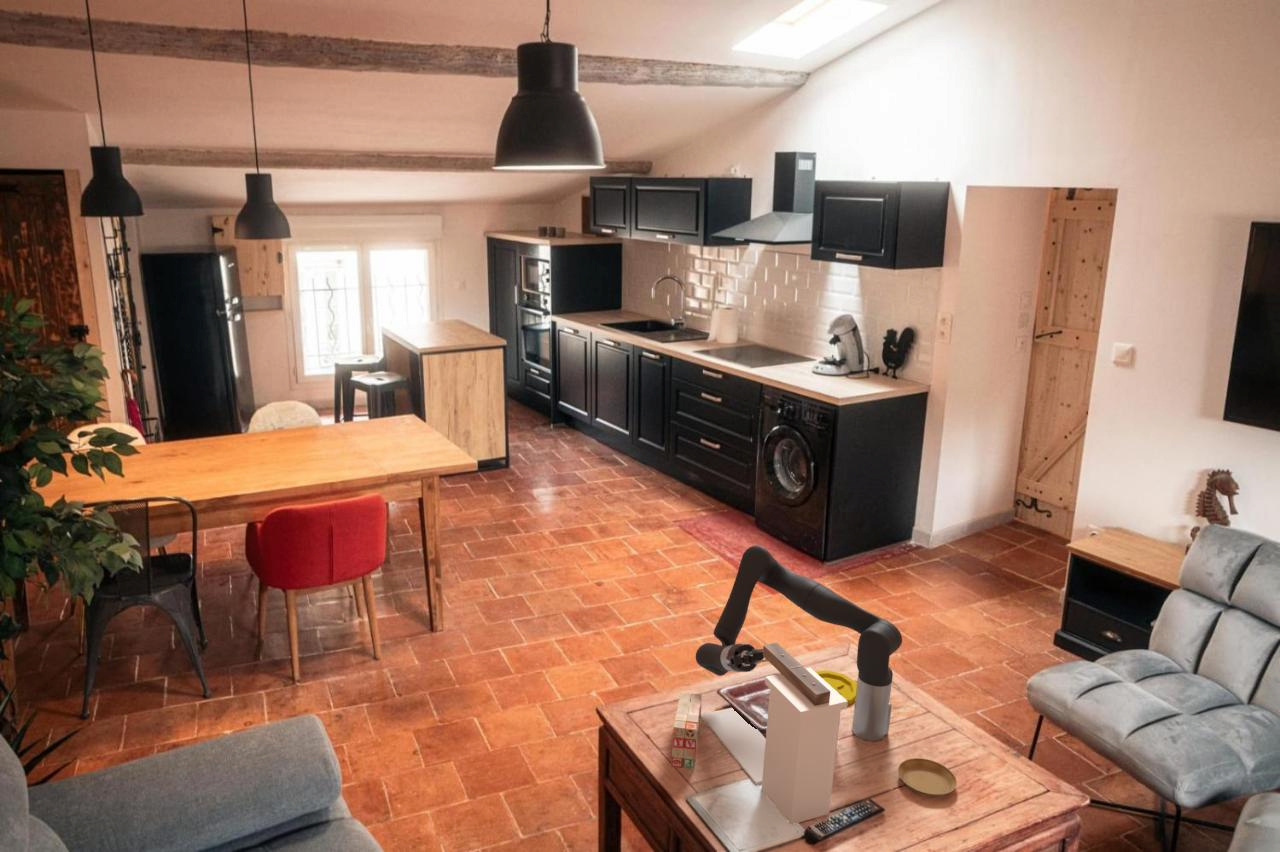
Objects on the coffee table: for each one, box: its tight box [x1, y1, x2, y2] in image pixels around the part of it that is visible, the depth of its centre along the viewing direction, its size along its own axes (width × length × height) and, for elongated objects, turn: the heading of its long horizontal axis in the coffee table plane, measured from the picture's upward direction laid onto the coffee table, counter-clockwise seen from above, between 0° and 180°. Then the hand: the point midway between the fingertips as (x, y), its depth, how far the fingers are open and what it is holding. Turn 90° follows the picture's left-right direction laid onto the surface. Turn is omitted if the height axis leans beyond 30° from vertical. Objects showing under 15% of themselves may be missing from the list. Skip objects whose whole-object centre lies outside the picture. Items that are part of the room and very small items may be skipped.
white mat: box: [701, 707, 766, 785], centre depth 246 cm, size 12×32×1 cm, turn 23°
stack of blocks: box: [670, 692, 703, 770], centre depth 244 cm, size 21×6×12 cm, turn 172°
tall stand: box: [761, 667, 848, 825], centre depth 220 cm, size 13×16×32 cm
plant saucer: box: [897, 757, 958, 798], centre depth 233 cm, size 15×15×3 cm
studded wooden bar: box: [762, 642, 830, 706], centre depth 220 cm, size 4×24×3 cm, turn 23°
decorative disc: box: [814, 669, 857, 706], centre depth 274 cm, size 17×18×2 cm
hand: (766, 656), depth 232 cm, fingers open, 8 cm apart
